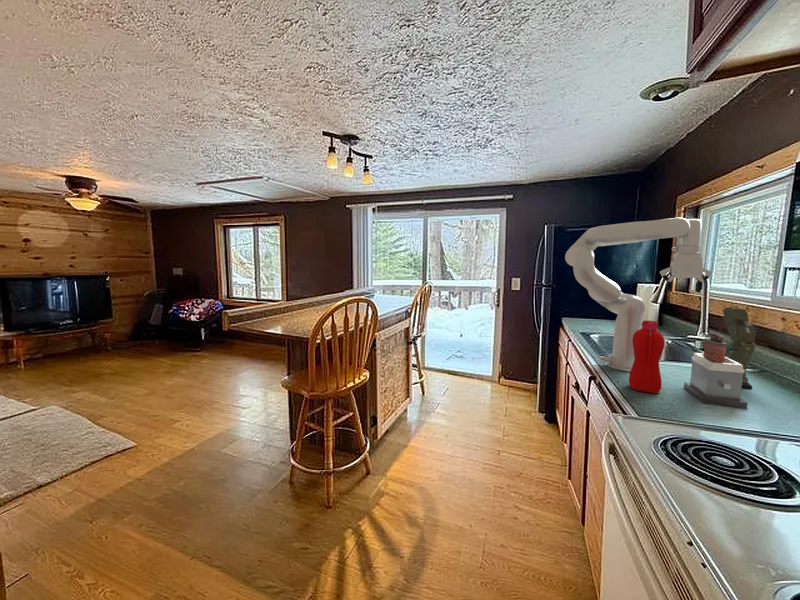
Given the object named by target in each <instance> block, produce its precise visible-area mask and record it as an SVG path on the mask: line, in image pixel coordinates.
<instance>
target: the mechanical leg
mask: <svg viewBox="0 0 800 600" xmlns="http://www.w3.org/2000/svg"><path fill="white" fill-rule="evenodd" d="M722 312H723V318H722V321H723V322H724V323H725V324H726V327H727V330H728V333H729V338H730V341H731V342H733V344H732V346H733V347H732V350H728V351H726V353H725V357H727V358H729V359H732V360H734V361H736V362H738V363H740V364H742V365H743V369H744V370H745V371H744V373H743V380H742V388H747V389H746V390H753V385H752V384H751V383H750V382H749V379H748V377H747V373H746V371H747V369H748V367H749V364H750V361H751V358H752V356H753V354H754V351H755V348H756V346H757V345H756V343H755V339H756V331H755V328H754V325H753V324H752V323H751V322H750V320H749V318H748V317H749V313H748V311H747V310H746V309H744V308H741V307H738V306H737V307H736V306H729V307H724V309H723V310H722Z"/></svg>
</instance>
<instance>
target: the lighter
mask: <svg viewBox="0 0 800 600" xmlns="http://www.w3.org/2000/svg"><path fill="white" fill-rule="evenodd" d="M707 336H709V337H710V338H709V337H708V338H707V337H706V338H704V340H703V341H704V347H703V353H704V357H706V358H708V359H709V360H711V361H713V362H718V363H724V361H725V357H726V353H727V346H728V343H727V342H725V341H724V338H725V336H724V335H722V334H721V333H716V332H712V331H711V332H710V331H708V332H707Z"/></svg>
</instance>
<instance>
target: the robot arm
mask: <svg viewBox="0 0 800 600" xmlns="http://www.w3.org/2000/svg"><path fill="white" fill-rule="evenodd" d="M702 225H703V223H702V220H701V219H699V218H690V219H689V218H688V219H687V218H684V217H673V218H672V217H671V218H663V219H662V218H661V219H655V220H644V221H642V220H641V221H631V222H623V223H615V224H614V223H613V224H606V225H599V226H595V227H591V228H588V229H587V230H586V231H585V232H584V233H583V234H581V236H580V237H579V238H578V239H577V240H576V241H575V242H574V243H573V244H572V245H571V246H570V247H569V248H568V250H567V251H566V252H565V256H564V259H565V262H566V264H567V265H569V266H570V267H572V268H573V269H572V270H573V275H574V277H575V278H574V279H575V280H576V281H577V282H578V284H580V285H581V286H582V287H584V288H585V289H586V290H587V292H588V295H589V296H590V298H592V299H593V300H594V301H596V302H597V303H598V304H600V305H601V306H602V307H604V308H605V309H607V310H608V311H610V312H612V313H614V314H616V315H617V316H616V318H615V323H614V328H613V331H614V332H613V344H612V354H610V355H609V356H605V355H600V356H599V360H600V361H602V362H605V363H607V366H608V367H610V368H612V369H614V370H618V371H624V372H630V371H631V369H632V366H633V363H634V360H635V359H634V349H633V343H632V340H633V335H634V333H635V332H636V331H638V330H640V329H642V322H643V318H644V315H645V311H646V305H645V302H644V301H643V299H642V298H641V297H639V296H637V295H635V294H630V293H624V292H622V289H621V286H619V285H618V283H616V282H615V281H613V280H612V279H610V278H608V277H607V276H606V275H604V274H602V273H601V272H600V271H599V270H598V268H596V267H595V253H594V251H595V250H596V249H597V248H598V247H607V246H616V245H623V244H624V245H625V244H633V243H634V244H635V243H641V242H646V241H651V240H660V239H661V240H662V239H671V238H676V245H675V246H673V247H671V251H674V253H673V255H672V257H671V262H670V267H667V268H664V269H662V270H660V271H659V274H660V275H661V278H662V279H663V280H664V281H665V282H666V285H665V286H666V287H665V289H666V290H667V292H673V280H674V279H675V278H679V279H681V278H682V279H695V280H696V282H695V290H694V291H695V292H696V293H701V291H702V290H703V283H704V282H705V281H706V280H708V279H709V278H710V276H712V273H713V272H712V271H711V270H708V269H707V268H704V265H703V264H704V263H703V261H704V260H703V253H700V245H701V237H702ZM668 272H669V273H668ZM666 273H668V274H669V275H666ZM703 273H705V274H703Z"/></svg>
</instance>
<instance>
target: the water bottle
mask: <svg viewBox="0 0 800 600" xmlns="http://www.w3.org/2000/svg"><path fill="white" fill-rule="evenodd" d="M657 328H658V322H657V321H656V320H655V321H654V320H642V324H641V329H640V330H638V331H636V332H635V333H634V335H633V340H632V343H633V349H634V359H635V360H634V363H633V366H632V369H631V371H629V376H628V383H629V388H631V389H632V390H633V389H634V391H636V390H637V391H636V392H641V391H642V393H643V392H644V393H647V394H648V393H649V394H657V393H660V391H661V389H662V376H661V369H660V359H661V356H662V354H663V351H664V349H665V338H664V335H663V334H662V333H661V332H660V331H658V330H657Z"/></svg>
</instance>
